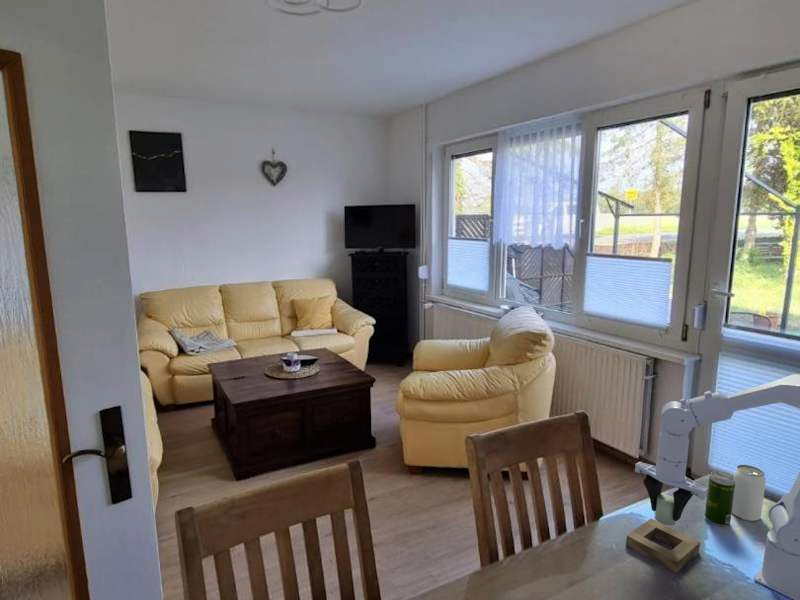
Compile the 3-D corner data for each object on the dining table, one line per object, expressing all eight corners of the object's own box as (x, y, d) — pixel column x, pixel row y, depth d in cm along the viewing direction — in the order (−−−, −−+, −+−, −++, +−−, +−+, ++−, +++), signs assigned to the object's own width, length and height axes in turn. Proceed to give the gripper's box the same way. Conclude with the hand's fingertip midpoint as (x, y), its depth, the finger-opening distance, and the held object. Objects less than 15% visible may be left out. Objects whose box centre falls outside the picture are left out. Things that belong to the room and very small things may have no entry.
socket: (698, 552, 111) (700, 542, 110) (676, 572, 104) (677, 561, 104) (649, 527, 119) (650, 518, 119) (625, 545, 113) (626, 535, 112)
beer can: (733, 522, 122) (739, 476, 120) (725, 530, 119) (731, 484, 117) (709, 512, 126) (714, 468, 124) (700, 519, 123) (706, 474, 121)
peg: (678, 521, 110) (681, 500, 109) (670, 527, 108) (672, 506, 107) (660, 512, 113) (662, 492, 113) (651, 518, 111) (653, 498, 110)
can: (734, 519, 123) (740, 474, 122) (725, 505, 130) (731, 462, 128) (764, 524, 122) (771, 478, 120) (754, 509, 128) (760, 466, 126)
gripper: (716, 464, 105) (709, 523, 107) (647, 440, 116) (642, 493, 118) (702, 474, 101) (694, 535, 103) (632, 448, 112) (627, 503, 114)
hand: (665, 514), depth 110 cm, fingers closed on peg, 4 cm apart
